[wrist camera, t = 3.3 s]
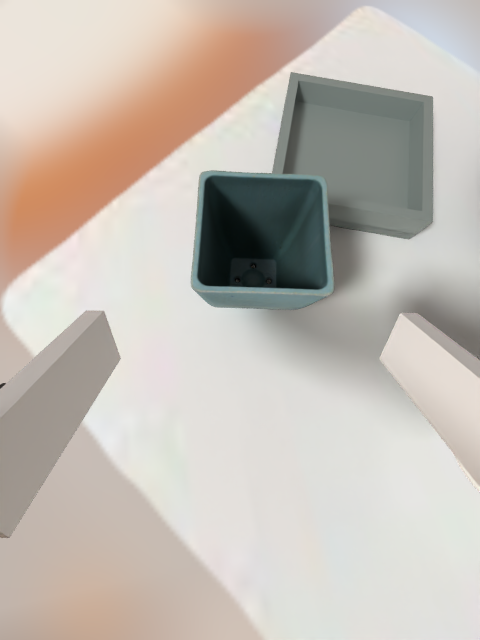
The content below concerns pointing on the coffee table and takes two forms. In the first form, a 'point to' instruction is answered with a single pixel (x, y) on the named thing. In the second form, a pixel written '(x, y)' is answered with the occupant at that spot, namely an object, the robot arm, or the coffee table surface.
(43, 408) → the robot arm
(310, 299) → the flower pot
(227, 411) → the coffee table surface
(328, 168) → the tray
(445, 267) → the coffee table surface
